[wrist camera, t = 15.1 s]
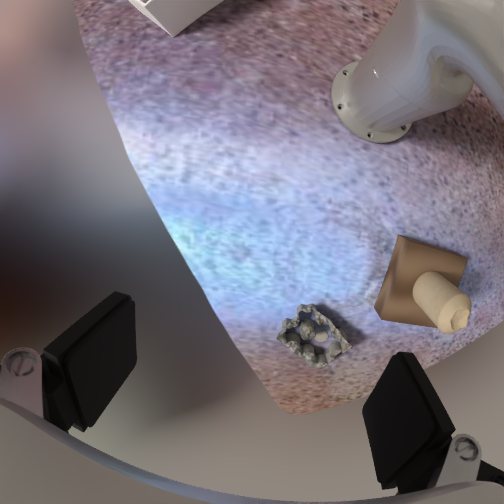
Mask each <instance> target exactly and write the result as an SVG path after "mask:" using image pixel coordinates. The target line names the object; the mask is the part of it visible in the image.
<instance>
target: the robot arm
mask: <svg viewBox="0 0 504 504" xmlns="http://www.w3.org/2000/svg"><path fill="white" fill-rule="evenodd" d="M343 73H345V74H346V75H344V74H343ZM474 83H475V84H476V85H477V87H478V88H479V89H480V90H481V92H482V93H483V94H484V95H485V97H487V98H488V99H489V101H490V102H491V104H492V105H493V106H494V108H495V109H496V111H497V112H498V113H499V115H500V116H501V118H502V119H503V121H504V0H400V1H399V3H398V5H397V7H396V9H395V11H394V13H393V14H392V16H391V18H390V19H389V21H388V22H387V24H386V25H385V27H384V28H383V29H382V31H381V32H380V34H379V35H378V37H377V38H376V39H375V41H374V42H373V44H372V45H371V46H370V48H369V49H368V51H367V52H366V53H365V55H364V56H363V58H362V59H361V61H356V62H353V63H350V64H348V65H346V66H345V67H343V68H342V69H341V70H340V71H339V72H338V73H337V75H336V77H335V79H334V81H333V84H332V88H331V101H332V105H333V108H334V111H335V113H336V115H337V117H338V118H339V120H340V121H341V123H342V124H343V125H344V126H345V127H346V128H347V129H348V130H349V131H350V132H352V133H353V134H354V135H356V136H357V137H359V138H361V139H363V140H366V141H369V142H374V143H387V142H392V141H395V140H397V139H399V138H401V137H402V136H404V135H405V134H406V133H407V132H408V130H409V128H410V127H411V125H412V122H414V121H417V120H420V119H423V118H426V117H429V116H432V115H435V114H438V113H441V112H444V111H447V110H449V109H452V108H455V107H457V106H458V105H460V104H461V103H462V102H464V101H465V100H466V98H467V97H468V95H469V94H470V92H471V90H472V87H473V84H474ZM338 107H340V108H341V109H338ZM401 127H402V129H401ZM368 134H369V135H370V137H368ZM43 351H44V353H43V354H42V355H41V356H39V354H38V353H37V352H35V351H34V350H32V349H29V348H17V349H14V350H12V351H10V352H9V353H7V354H6V356H5V357H4V358H3V361H2V365H0V504H504V472H503V471H501V470H500V469H497V468H496V467H494V466H491V465H490V464H488V463H486V462H484V461H482V460H481V448H480V445H479V443H478V442H477V441H476V440H475V438H473V437H471V436H470V435H467V434H458V435H456V436H455V437H454V438H453V439H452V437H451V435H452V433H453V432H454V431H455V430H456V429H455V427H454V425H453V423H452V421H451V419H450V417H449V415H448V414H447V411H446V410H445V408H444V406H443V404H442V402H441V400H440V399H439V396H438V395H437V393H436V391H435V389H434V388H433V386H432V384H431V382H430V380H429V379H428V377H427V375H426V374H425V372H424V370H423V368H422V367H421V365H420V363H419V362H418V360H417V358H416V357H415V355H414V354H413V353H409V352H398V353H397V354H396V355H393V356H392V358H391V359H390V361H389V363H388V365H387V367H386V369H385V370H384V372H383V374H382V376H381V377H380V379H379V381H378V383H377V384H376V386H375V388H374V389H373V391H372V393H371V394H370V396H369V398H368V399H367V401H366V403H365V404H364V406H363V410H362V414H363V418H364V422H365V426H366V430H367V434H368V439H369V443H370V447H371V452H372V457H373V461H374V466H375V471H376V476H377V480H378V482H379V483H381V486H382V490H384V489H392V488H395V487H398V492H397V494H396V495H395V496H389V497H383V498H376V499H367V500H356V501H341V502H293V501H279V500H268V499H260V498H252V497H245V496H239V495H233V494H227V493H222V492H218V491H213V490H209V489H204V488H200V487H196V486H192V485H188V484H185V483H182V482H178V481H175V480H171V479H168V478H165V477H162V476H159V475H156V474H154V473H151V472H148V471H145V470H143V469H140V468H138V467H135V466H133V465H130V464H128V463H126V462H123V461H121V460H119V459H117V458H114V457H112V456H110V455H108V454H106V453H104V452H102V451H100V450H98V449H96V448H94V447H92V446H90V445H88V444H86V443H84V442H82V441H80V440H78V439H77V438H75V437H73V436H71V435H70V434H69V432H68V430H69V429H70V428H71V426H73V427H75V428H77V429H78V430H80V431H82V432H85V430H86V429H87V427H92V426H93V425H94V424H95V423H96V421H97V419H98V418H99V417H100V415H101V414H102V412H103V411H104V410H105V408H106V407H107V405H108V404H109V402H110V401H111V400H112V398H113V397H114V395H115V394H116V393H117V391H118V390H119V388H120V387H121V385H122V384H123V383H124V381H125V380H126V378H127V377H128V375H129V374H130V373H131V371H132V370H133V369H134V367H135V365H136V362H137V353H136V330H135V302H134V301H132V300H131V297H130V296H129V295H126V294H123V293H120V292H116V291H115V292H113V293H112V294H111V295H109V296H108V297H107V298H106V299H104V300H103V301H102V302H100V303H99V304H98V305H97V306H95V307H94V308H93V309H91V310H90V311H89V312H88V313H86V314H85V315H84V316H83V317H81V318H80V319H79V320H78V321H77V322H75V323H74V324H73V325H72V326H70V327H69V328H68V329H67V330H66V331H64V332H63V333H62V334H61V335H60V336H58V337H57V338H56V339H55V340H54V341H53V342H51V343H50V344H49V345H48V346H47V347H46V348H44V349H43Z"/></svg>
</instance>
